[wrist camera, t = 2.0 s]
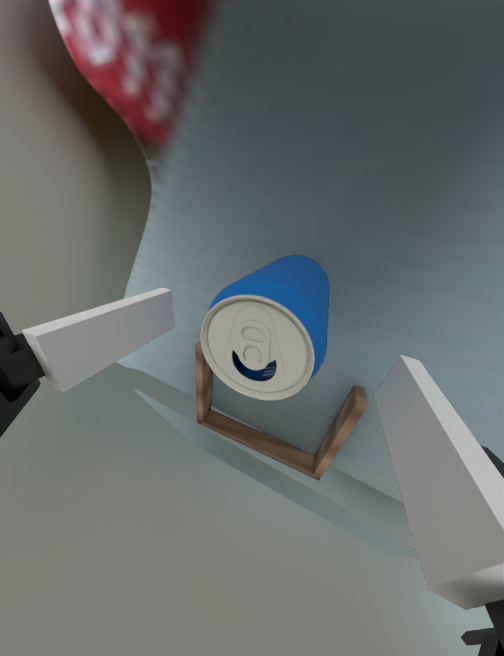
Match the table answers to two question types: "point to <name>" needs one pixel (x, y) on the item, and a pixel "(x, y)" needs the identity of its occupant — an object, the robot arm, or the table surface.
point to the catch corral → (273, 446)
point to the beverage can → (269, 329)
